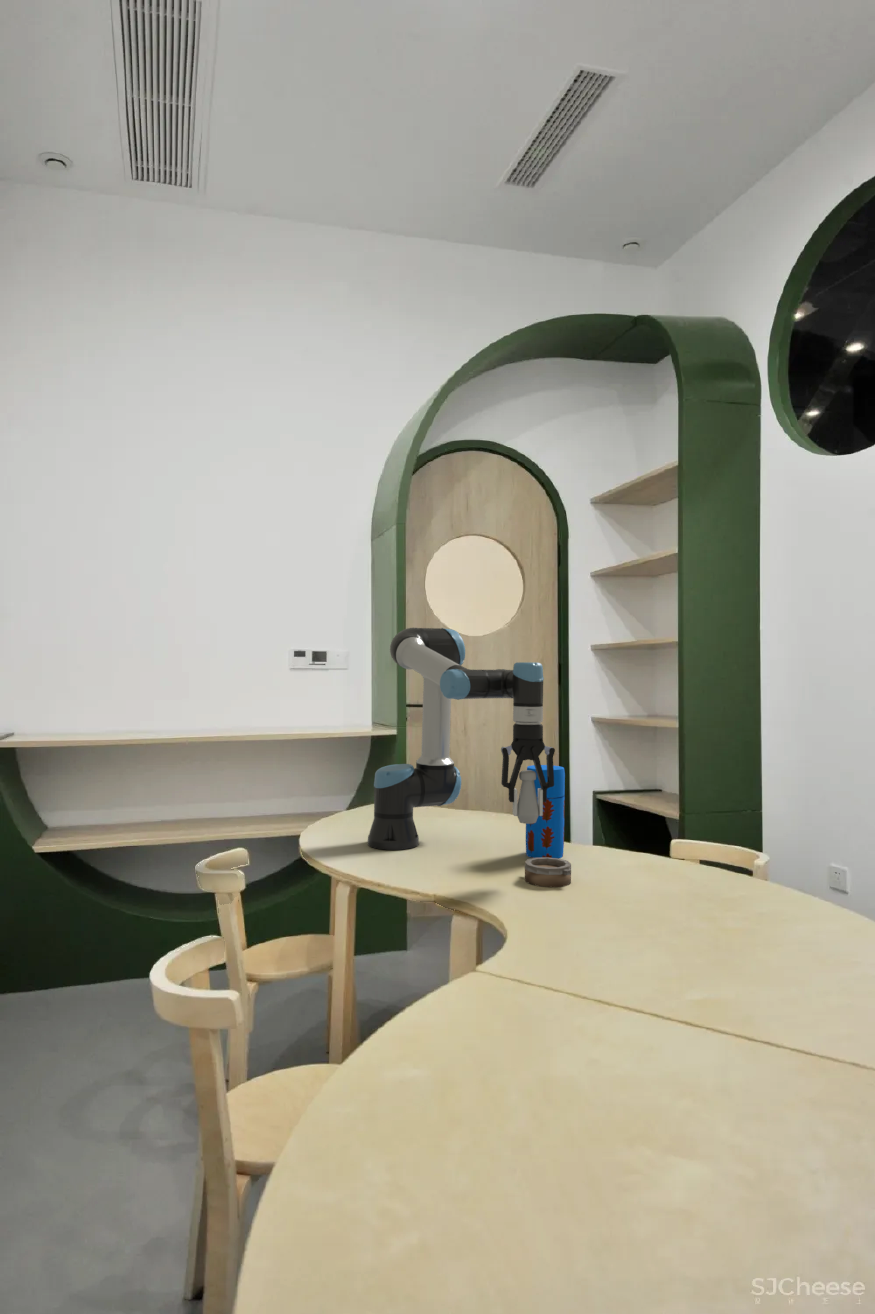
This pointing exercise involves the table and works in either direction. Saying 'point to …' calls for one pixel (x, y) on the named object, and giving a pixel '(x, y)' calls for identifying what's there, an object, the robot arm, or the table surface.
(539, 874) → the brown bowl with handles
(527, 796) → the salt shaker
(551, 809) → the thermos
